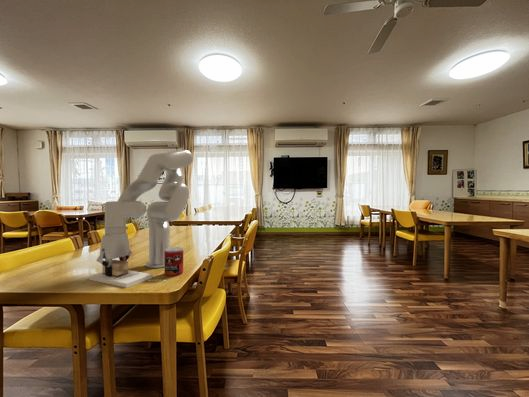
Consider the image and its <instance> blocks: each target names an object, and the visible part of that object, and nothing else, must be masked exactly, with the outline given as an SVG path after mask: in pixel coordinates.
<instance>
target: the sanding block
mask: <svg viewBox="0 0 529 397" xmlns="http://www.w3.org/2000/svg"><path fill="white" fill-rule="evenodd" d="M101 265H102V264H101ZM111 267H112V276H113V277H119V276H122V275H126V274H128V270H129V261H127V262H126V261H120V260H118V259H112V262H111ZM101 270H102V274H104V275H105V266H103V265H102V269H101Z"/></svg>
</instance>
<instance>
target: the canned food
mask: <svg viewBox="0 0 529 397" xmlns="http://www.w3.org/2000/svg"><path fill="white" fill-rule="evenodd" d="M183 272H184V248H183V247H179V246H178V247H177V246H174V247H170V248H167V249H165V267H164V275H165V276H166V277H176V276H177V275H178V276H180V274H181V275H182V274H183Z"/></svg>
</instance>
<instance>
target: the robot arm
mask: <svg viewBox="0 0 529 397" xmlns="http://www.w3.org/2000/svg"><path fill="white" fill-rule="evenodd" d="M193 157H194V156H193V154H192V152H190V151H189V150H187V149H178V150H173V151H168V152H167V151H166V152H162V153H160V152H159V153H153V154H151V155H150V156H149V157H148V159H147V161H146V163H145V164H144V166H143V168H142V169H141V172H140V173H139V175H138V177H137V178H136V179H134V180H133V181H132V183H131V184H129V185H128V186H127V187H126V188H125V189H124V190H123V191H122V193H121V194H120V196H119V197H118V199H117V201H113V200H111V201H106V203H105V204H104V234H102V236H101V241H100V247H99V256H98V257H97V258H96V262H98V263H100V264H101V265H103V266H105V275H106V276H109V277H111V276H112V267H111V262H112V260H116V259H119V260H120V261H126V262H128V260H129V258H130V257H131V255H132V254H133V252H132V250H131V249H130V243H129V242H130V241H129V236H128V233H127V231H126V230H129V227H128V226H126V225H127V218H132V219H133V218H137V219H139V218H141V217H142V216H144V215H145V214H146V216H147V221H148V222H147V223H148V261H147V262H146V263H145V268H149V269H159V268H165V249H167V248H171V247H170V246H171V245H170V244H171V242H170V241H171V240H170V239H171V236H170V234H171V232H170V231H171V230H170V228H171V227H170V225H169V222H175V221H177V220H179V218H180V217H181V215H182V214H183V211H184V210H185V208H186V204H187V202H188V200H189V196H190V191H189V188H188V185H186V184H185V183H183V181H184V174H183V171H182V169H183V168H187V167H189V166H190V165H192V163H193V161H194V160H193V159H194V158H193ZM164 171H166V175H165V178H164V180H163V182H162V184H161V186H160V189H159V191H158V197H159V199H160V200H162V201H155V202H151V203H150V204H149V205H148V207H147V206H146V203H144V202H142V201H140V200H137V199H138V198H140V196H142V195H143V194H146V193H147V192H149V191H151V190H152V189H155V187H157V184H158V182H159V181H160V178H161V176H162V175H163V172H164Z"/></svg>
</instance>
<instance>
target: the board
mask: <svg viewBox="0 0 529 397" xmlns="http://www.w3.org/2000/svg"><path fill="white" fill-rule="evenodd" d="M153 276H154V274H153V273H152V274H151V273H147V272H140V271H137V270H131V269H128V274H126V275H122V276H119V277H113V276H111V277H109V276H106V275H104V274H102V272H99V273H95V274H91V275H89V276H88V280H89V281H94V282H98V283H104V284H107V285H113V286H117V287H121V288H129V287H131V286H135V285H137V284H140V283H142V282H146V281H148V280H151V279H153Z"/></svg>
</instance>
